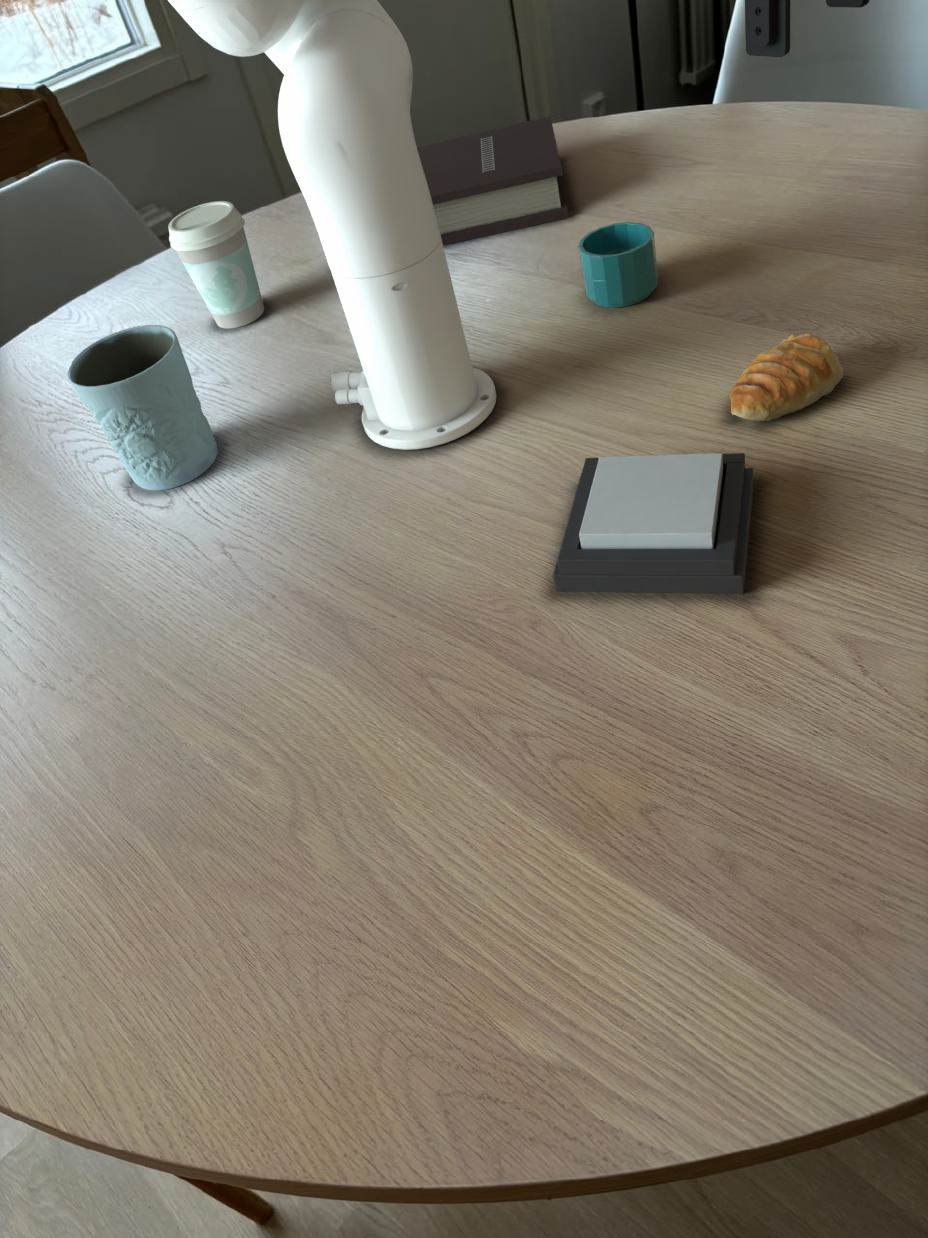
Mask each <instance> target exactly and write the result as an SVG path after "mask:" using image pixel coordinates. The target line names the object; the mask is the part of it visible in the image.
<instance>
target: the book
mask: <svg viewBox="0 0 928 1238" xmlns="http://www.w3.org/2000/svg"><path fill="white" fill-rule="evenodd" d="M553 126H554V125H553V122H552V117H551V115H549V116H544V117H539V118H536V119H532V120H526V121H523V122H519V123H514V124H510V125H506V126H502V127H497V128H493V129H489V130H485V131H480V132H476V133H472V134H467V135H463V136H458V137H455V138H451V139H450V138H449V139H447V140H443V141H438V142H434V143H430V144H425V145H422V146H421V145H420V146H417V150H418V154H419V157H420V161H421V164H422V168H423V171H424V174H425V178H426V181H427V184H428V188H429V192H430V195H431V199H432V203H433V207H434V211H435V215H436V219H437V223H438V227H439V232H440V235H441V239H442V243H443V246H447V245H452V244H456V243H461V242H466V241H470V240H471V241H472V240H475V239H478V238H483V237H487V236H488V237H489V236H492V235H493V236H494V235H497V234H501V233H506V232H511V231H515V230H519V229H520V230H521V229H524V228H529V227H535V226H537V225H542V224H547V223H551V222H556V221H561V220H565V219H569V218H570V215H569V214H570V213H569V208H568V204H567V199H566V194H565V189H564V184H563V180H562V176H564V174H563V168H562V163H561V159H560V154H559V149H558V145H557V144H558V143H557V140H556V139H557V138H556V134H555V131H554V127H553Z"/></svg>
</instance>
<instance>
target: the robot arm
mask: <svg viewBox="0 0 928 1238" xmlns="http://www.w3.org/2000/svg"><path fill="white" fill-rule="evenodd" d="M167 1H168V3H169V4H170V5H171V6H172V7H173V8H174V9H175V11H176V12H177V13H178V15H180V17H181V18H182V19H183V20H184V22H185V23H187V24H188V26H189V27H190V28H192V30H193V31H194V32H195V33H196V34H197V35H198V36H199V37H200V38H201V39H202V40H203V41H204V42H206V43H208V45H210V46H211V47H212V48H214V49H215V50H218V51H220V52H222V53H223V54H224V53H225V54H227V55H229V56H234V57H241V58H242V57H243V58H245V57H253V56H258V55H260V54H263V53H264V54H265V55H266V56H267V57H268V58H269V60H270V61H271V62H272V63H273V64H274V65H275V66H276V68H277V69H278V70H279V71H280V72H281V73H282V75H283V77H282V81H281V83H280V87H279V94H278V101H277V121H278V129H279V136H280V141H281V144H282V148H283V150H284V153H285V157H286V159H287V162H288V164H289V166H290V169H291V171H292V173H293V175H294V178H295V180H296V183H297V185H298V187H299V189H300V191H301V193H302V196H303V198H304V200H305V203H306V205H307V207H308V210H309V212H310V215H311V218H312V220H313V224H314V226H315V229H316V231H317V234H318V237H319V240H320V243H321V247H322V249H323V252H324V255H325V258H326V261H327V265H328V268H329V269H330V272H331V276H332V279H333V282H334V285H335V288H336V291H337V294H338V297H339V301H340V303H341V307H342V310H343V312H344V316H345V318H346V322H347V325H348V329H349V331H350V335H351V337H352V341H353V343H354V346H355V350H356V353H357V355H358V359H359V362H360V365H361V371H351V370H350V371H334V372H332V374H331V377H330V386H331V389H332V391H333V392H334V400H335V402H336V404H337V405H350V404H357V403H358V404H359V405H360V406H363V409H362V412H361V424H362V426H363V428H364V429H363V430H364V432H365V433H366V435H367V437H368V438H369V439H370V440H372V441H373V442H374V443H376V444H378V445H380V446H383V447H386V448H389V449H393V450H404V451H405V450H406V451H407V450H421V449H428V448H433V447H437V446H441V445H443V444H447V443H450V442H452V441H455V440H457V439H459V438H462V437H463V436H465V435H467V434H468V433H470V432H471V431H474V430H475V429H476V428H478V427H479V426H480V425H481V424H482V423H484V422H485V421H486V419H487V418H489V415H491V413H492V412H493V410H494V408H495V406H496V402H497V392H496V387H495V384H494V381H493V379H492V378H491V377H490V376H489V374H488V373H486V372H484V371H483V370H481V369H479V368H476V367H474V366H473V364H472V360H471V356H470V352H469V348H468V344H467V339H466V335H465V331H464V327H463V321H462V318H461V314H460V310H459V305H458V301H457V297H456V293H455V290H454V285H453V281H452V277H451V273H450V268H449V264H448V259H447V255H446V253H445V252H446V251H445V247H444V245H443V243H442V239H441V235H440V232H439V227H438V223H437V219H436V215H435V211H434V207H433V203H432V199H431V195H430V192H429V188H428V184H427V181H426V178H425V174H424V171H423V168H422V164H421V161H420V157H419V154H418V150H417V147H418V146H417V142H416V139H415V134H414V129H413V124H412V117H411V105H412V94H413V93H412V92H413V85H414V84H413V83H414V71H413V61H412V56H411V53H410V50H409V47H408V44H407V42H406V40H405V38H404V36H403V34H402V32H401V31H400V29H399V28H398V26H397V25H396V23H395V22H394V20H393V19H392V18H391V16H390V15H389V13H388V12H387V11H386V10H385V9H384V7H383V6H382V5H381V4H380V2H379V1H378V0H167ZM869 3H870V0H825V4H826V5H827V7H829V8H860V9H861V8H864V7H865V6H867V5H868V4H869ZM744 24H745V25H744V27H745V28H744V29H745V33H744V34H745V52H746V54H747V55H748V56H750V57H751V56H752V57H753V56H754V57H768V58H769V57H770V58H771V57H772V58H783V57H784V56H786V55H788V54H789V53H790V51H791V0H744Z"/></svg>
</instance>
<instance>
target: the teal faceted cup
mask: <svg viewBox="0 0 928 1238" xmlns="http://www.w3.org/2000/svg"><path fill="white" fill-rule="evenodd" d="M656 250H657V249H656V241H655V232H654V230H653V229H652V227H651V226H649V225H647V224H644V223H642V222H630V221H624V222H616V223H611V224H608V225H603V226H600V227H598V228H596V229H594V230H592V231H590V232H587V234H585V235H584V236H583V237H581V239H580V241H579V243H578V253H579V260H580V268H581V274H582V281H583V287H584V293H585V295H586V297H587V298H588V300H589V301H592V302H593V303H594V304H595V305H597V306H600V307H603V308H608V309H609V308H611V309H612V308H613V309H617V308H624V307H628V306H632V305H635V304H638V303H641V302H642V301H644V300H646V299H647V298H648V297H649V296H651V294H652V293H653V291H654V290H655V289H656V288H657V287H658V282H659V274H658V273H659V271H658V261H657V251H656Z"/></svg>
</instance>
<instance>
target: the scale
mask: <svg viewBox="0 0 928 1238" xmlns="http://www.w3.org/2000/svg"><path fill="white" fill-rule="evenodd" d="M722 455H723V476H722V484H721V492H720V501H719V509H718V517H717V525H716V533H715V541H714V549H582V547H581V542H580V536H579V533H580V529H581V526H582V522H583V518H584V514H585V510H586V507H587V503H588V499H589V495H590V491H591V487H592V484H593V480H594V476H595V472H596V468H597V465H598V461H599V457H585V460H584V464H583V466H582V470H581V473H580V476H579V480H578V483H577V487H576V491H575V495H574V498H573V501H572V506H571V509H570V512H569V516H568V518H567V523H566V527H565V529H564V534H563V537H562V541H561V545H560V548H559V552H558V555H557V559H556V563H555V566H554V569H553V574H552V578H553V584H554V588H555V591H556V592H566V593H567V592H573V593H574V592H576V593H577V592H579V593H645V594H646V593H657V594H660V593H661V594H664V593H665V594H726V595H727V594H729V595H731V594H732V595H733V594H735V595H739V594H740V595H743V594H744V593H745V585H746V574H747V573H746V572H747V564H748V563H747V562H748V551H749V542H750V541H749V540H750V531H751V530H750V528H751V518H752V506H753V495H754V468H753V467H746V454H745V453H744V452H740V453H739V452H738V453H737V452H734V453H733V452H732V453H722Z"/></svg>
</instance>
